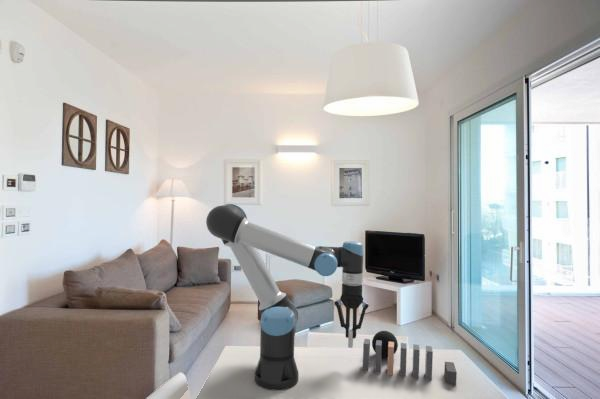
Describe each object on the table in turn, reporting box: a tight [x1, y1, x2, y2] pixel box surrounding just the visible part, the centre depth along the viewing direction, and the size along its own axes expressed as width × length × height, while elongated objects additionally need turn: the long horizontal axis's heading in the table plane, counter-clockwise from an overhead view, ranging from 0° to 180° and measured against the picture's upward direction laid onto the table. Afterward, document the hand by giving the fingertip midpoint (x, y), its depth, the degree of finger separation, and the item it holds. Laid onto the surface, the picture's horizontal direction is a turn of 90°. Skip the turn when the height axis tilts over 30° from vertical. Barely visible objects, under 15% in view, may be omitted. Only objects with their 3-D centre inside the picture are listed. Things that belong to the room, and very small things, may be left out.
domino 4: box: [399, 342, 408, 377], centre depth 143 cm, size 2×5×10 cm, turn 166°
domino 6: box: [424, 345, 434, 381], centre depth 141 cm, size 2×5×10 cm, turn 165°
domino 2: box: [374, 340, 383, 374], centre depth 145 cm, size 2×5×10 cm, turn 166°
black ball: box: [371, 330, 399, 359], centre depth 157 cm, size 10×10×10 cm
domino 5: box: [411, 343, 420, 379], centre depth 142 cm, size 2×5×10 cm, turn 166°
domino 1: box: [362, 338, 371, 372], centre depth 146 cm, size 2×5×10 cm, turn 166°
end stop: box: [443, 361, 457, 386], centre depth 139 cm, size 3×8×4 cm, turn 166°
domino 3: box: [386, 342, 395, 375], centre depth 144 cm, size 2×5×10 cm, turn 166°
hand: (350, 346), depth 147 cm, fingers closed
